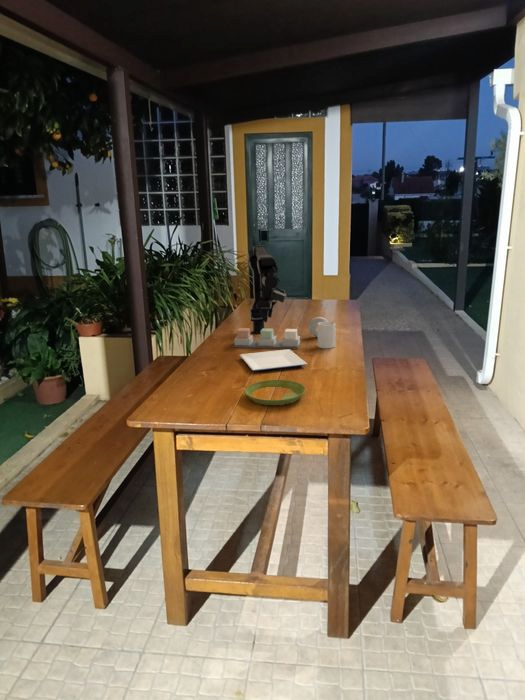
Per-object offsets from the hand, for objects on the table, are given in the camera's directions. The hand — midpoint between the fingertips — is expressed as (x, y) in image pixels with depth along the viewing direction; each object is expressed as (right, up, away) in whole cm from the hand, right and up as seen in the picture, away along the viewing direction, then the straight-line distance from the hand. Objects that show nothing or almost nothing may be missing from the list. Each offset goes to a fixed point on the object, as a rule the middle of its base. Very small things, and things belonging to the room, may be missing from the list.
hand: (267, 319), depth 248 cm
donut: (+25, -8, +14) cm, 29 cm away
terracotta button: (-11, -8, +5) cm, 14 cm away
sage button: (0, -8, +3) cm, 9 cm away
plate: (+2, -19, -22) cm, 29 cm away
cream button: (+10, -9, 0) cm, 14 cm away
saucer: (+2, -30, -59) cm, 67 cm away
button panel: (0, -11, +4) cm, 12 cm away
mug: (+27, -12, +1) cm, 29 cm away
